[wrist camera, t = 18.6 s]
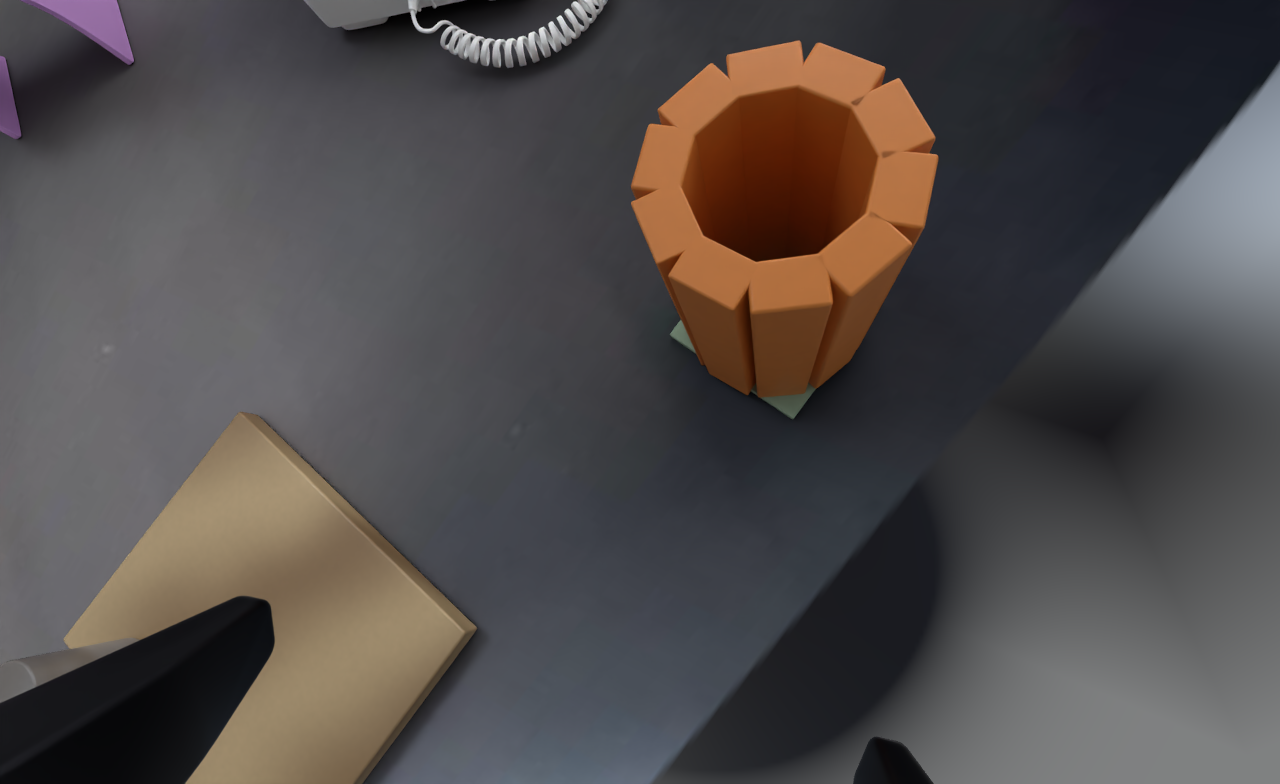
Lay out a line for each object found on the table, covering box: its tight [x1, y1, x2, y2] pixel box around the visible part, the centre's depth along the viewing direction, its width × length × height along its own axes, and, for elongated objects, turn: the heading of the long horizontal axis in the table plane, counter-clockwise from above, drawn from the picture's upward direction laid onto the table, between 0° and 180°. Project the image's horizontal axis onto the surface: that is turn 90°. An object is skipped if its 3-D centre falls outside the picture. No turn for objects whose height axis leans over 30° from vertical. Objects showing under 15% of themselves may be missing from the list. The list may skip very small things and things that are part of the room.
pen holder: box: [631, 41, 938, 398], centre depth 18 cm, size 6×7×10 cm
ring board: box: [0, 412, 477, 784], centre depth 22 cm, size 14×12×5 cm
